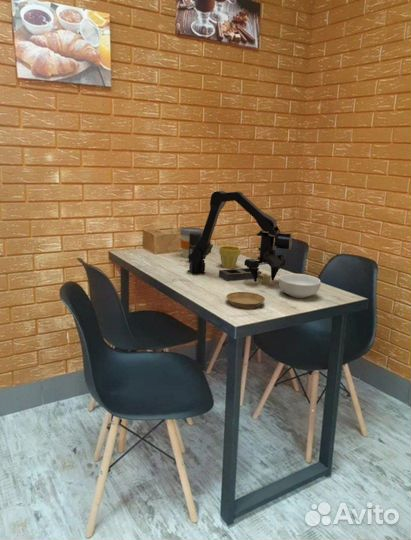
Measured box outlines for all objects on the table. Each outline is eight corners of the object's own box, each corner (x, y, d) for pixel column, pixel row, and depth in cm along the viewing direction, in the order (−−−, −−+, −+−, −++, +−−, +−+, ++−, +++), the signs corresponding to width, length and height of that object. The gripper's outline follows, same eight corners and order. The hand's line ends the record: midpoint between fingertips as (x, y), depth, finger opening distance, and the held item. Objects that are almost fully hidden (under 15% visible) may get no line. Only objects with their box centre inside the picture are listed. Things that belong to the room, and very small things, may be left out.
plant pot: (243, 267, 228) (244, 248, 226) (227, 270, 222) (228, 250, 220) (229, 263, 236) (231, 244, 234) (214, 265, 230) (215, 246, 227)
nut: (262, 285, 200) (263, 276, 199) (257, 282, 203) (258, 273, 202) (270, 284, 202) (270, 275, 201) (264, 282, 205) (265, 273, 204)
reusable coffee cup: (202, 260, 240) (203, 231, 236) (178, 258, 240) (179, 230, 236) (202, 254, 252) (204, 228, 249) (180, 253, 252) (181, 226, 249)
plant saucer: (223, 308, 168) (223, 301, 168) (228, 296, 182) (228, 290, 182) (263, 312, 166) (263, 305, 165) (265, 300, 180) (266, 293, 179)
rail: (227, 281, 203) (227, 274, 202) (218, 276, 210) (219, 270, 209) (261, 277, 211) (261, 271, 210) (251, 273, 218) (252, 267, 217)
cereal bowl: (269, 291, 191) (270, 275, 189) (299, 287, 199) (301, 271, 198) (295, 303, 177) (297, 286, 175) (327, 298, 185) (329, 282, 183)
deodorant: (201, 261, 236) (202, 233, 232) (197, 264, 231) (198, 235, 227) (190, 260, 238) (192, 232, 234) (186, 262, 232) (187, 233, 229)
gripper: (259, 251, 187) (256, 288, 191) (295, 249, 196) (292, 284, 200) (245, 246, 197) (242, 281, 201) (280, 244, 205) (276, 277, 209)
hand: (263, 281), depth 202 cm, fingers open, 9 cm apart
